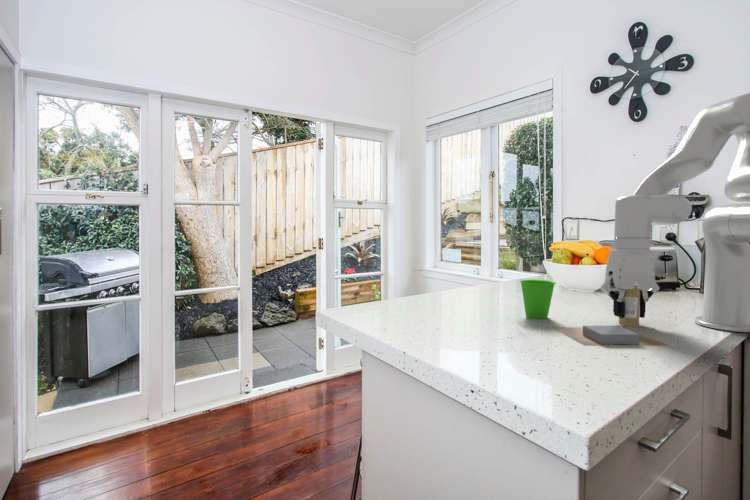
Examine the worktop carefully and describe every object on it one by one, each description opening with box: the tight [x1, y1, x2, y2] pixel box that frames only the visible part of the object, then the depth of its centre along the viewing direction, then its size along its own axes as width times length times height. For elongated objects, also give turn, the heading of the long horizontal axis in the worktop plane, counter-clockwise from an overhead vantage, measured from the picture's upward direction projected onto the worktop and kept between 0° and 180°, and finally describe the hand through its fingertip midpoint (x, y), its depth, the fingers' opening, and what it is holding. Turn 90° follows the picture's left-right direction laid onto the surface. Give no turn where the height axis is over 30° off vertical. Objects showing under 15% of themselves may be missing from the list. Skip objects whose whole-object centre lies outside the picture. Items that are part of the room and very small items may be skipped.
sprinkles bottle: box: [618, 282, 641, 327], centre depth 94 cm, size 5×5×14 cm
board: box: [552, 326, 670, 346], centre depth 84 cm, size 18×14×1 cm
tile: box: [582, 325, 640, 344], centre depth 81 cm, size 2×7×8 cm
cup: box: [519, 279, 556, 320], centre depth 102 cm, size 9×9×11 cm
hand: (628, 315), depth 94 cm, fingers closed on sprinkles bottle, 4 cm apart
